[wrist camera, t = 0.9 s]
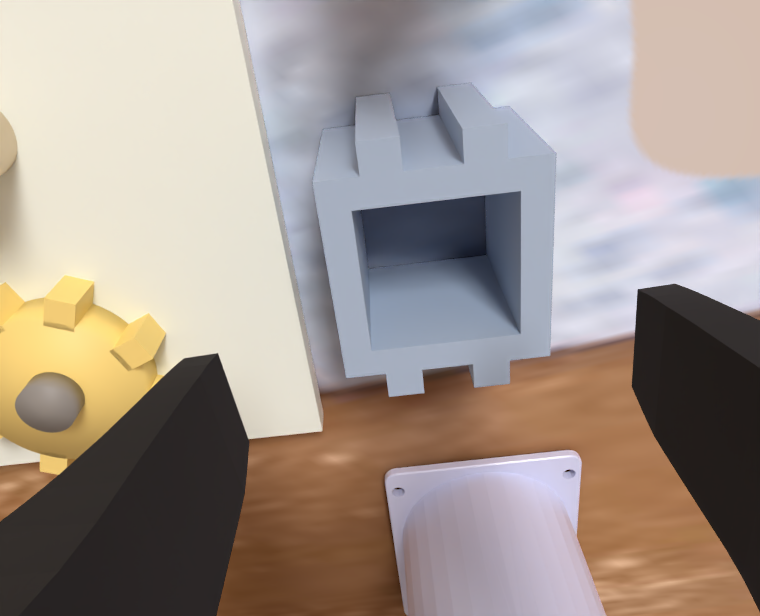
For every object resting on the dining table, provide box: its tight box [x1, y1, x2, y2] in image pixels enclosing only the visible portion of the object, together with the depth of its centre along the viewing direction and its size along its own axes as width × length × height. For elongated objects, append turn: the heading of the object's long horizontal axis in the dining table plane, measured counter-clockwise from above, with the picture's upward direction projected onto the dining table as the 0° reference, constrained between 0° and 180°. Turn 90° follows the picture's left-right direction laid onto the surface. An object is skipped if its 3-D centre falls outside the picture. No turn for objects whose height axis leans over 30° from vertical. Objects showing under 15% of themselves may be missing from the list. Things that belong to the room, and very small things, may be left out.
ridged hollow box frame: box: [312, 83, 556, 397], centre depth 18 cm, size 7×6×5 cm
